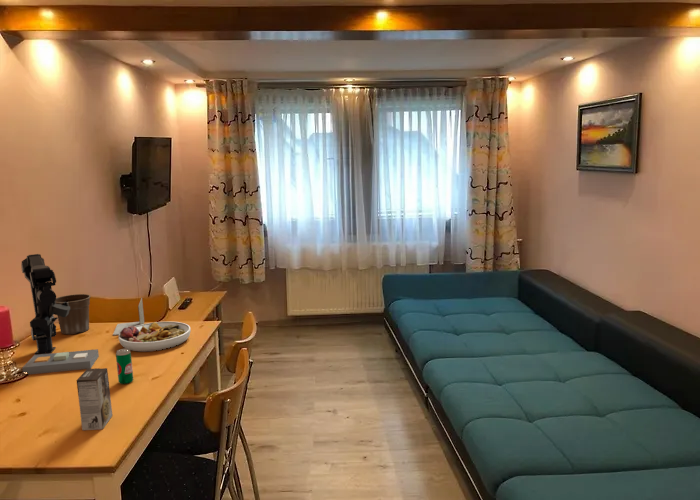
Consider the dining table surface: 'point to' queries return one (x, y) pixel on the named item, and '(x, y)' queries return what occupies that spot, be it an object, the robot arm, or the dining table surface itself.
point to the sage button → (61, 356)
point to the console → (61, 363)
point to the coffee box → (94, 399)
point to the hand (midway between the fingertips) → (49, 337)
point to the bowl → (154, 336)
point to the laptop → (126, 325)
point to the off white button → (80, 355)
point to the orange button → (42, 359)
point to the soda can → (124, 366)
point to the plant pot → (75, 314)
